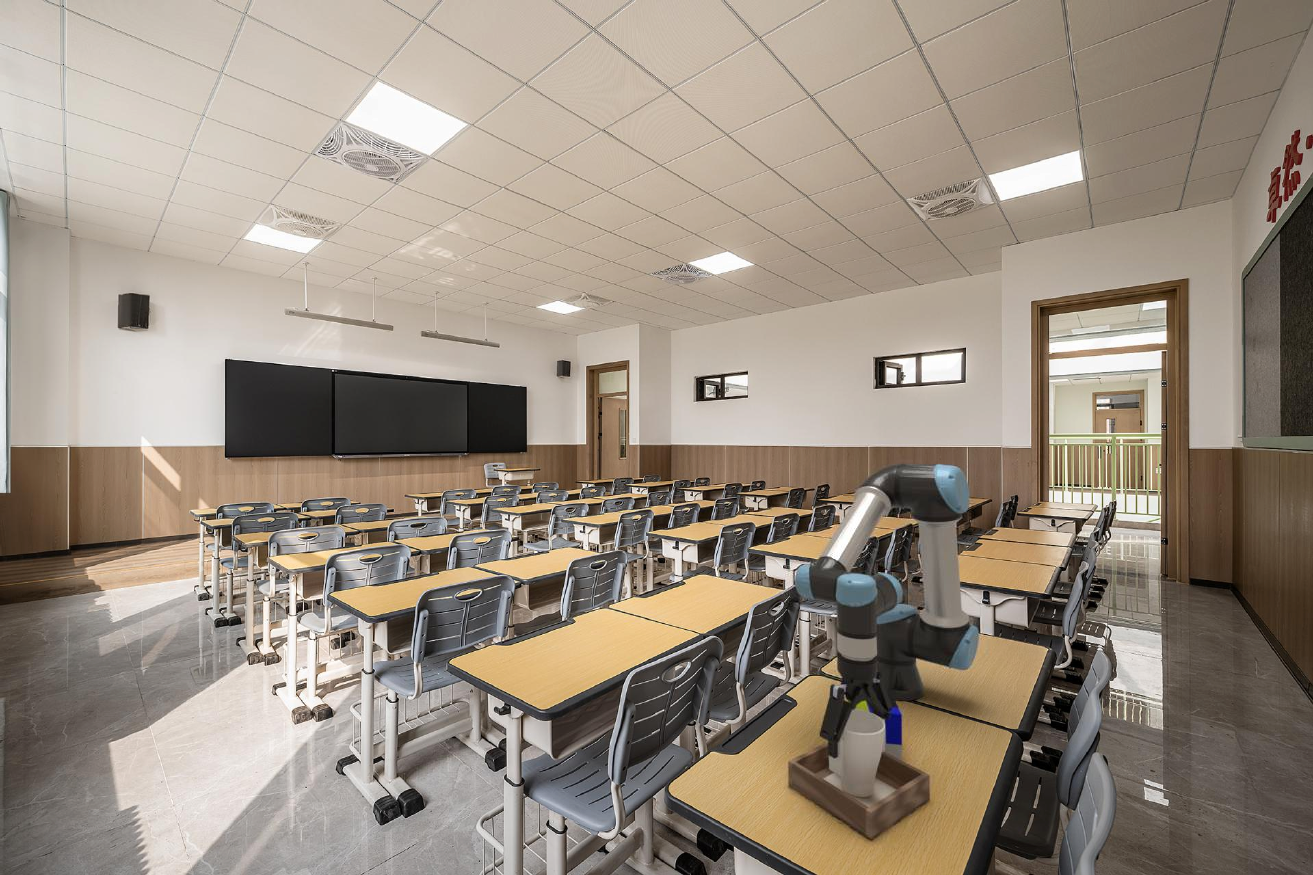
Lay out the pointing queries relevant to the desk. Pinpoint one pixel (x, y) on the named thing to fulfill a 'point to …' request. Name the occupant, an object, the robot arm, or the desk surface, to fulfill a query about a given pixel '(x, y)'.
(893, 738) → the puzzle toy
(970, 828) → the desk surface
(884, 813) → the walled box
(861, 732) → the cup
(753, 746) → the desk surface
